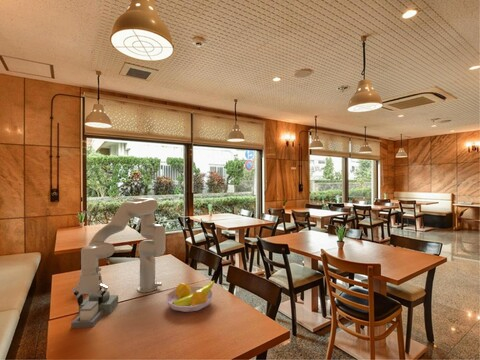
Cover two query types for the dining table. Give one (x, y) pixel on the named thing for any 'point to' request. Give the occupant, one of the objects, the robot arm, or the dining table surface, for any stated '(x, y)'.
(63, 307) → the dining table surface
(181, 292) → the fruit bowl
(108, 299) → the domed grey panel
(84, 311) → the grey bevelled box
